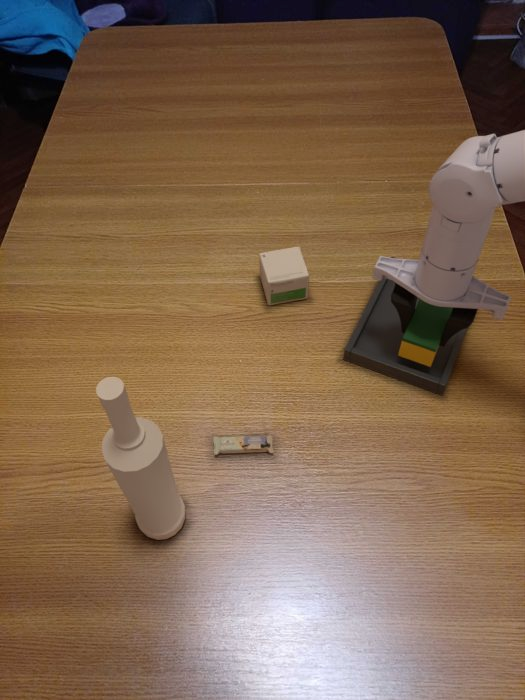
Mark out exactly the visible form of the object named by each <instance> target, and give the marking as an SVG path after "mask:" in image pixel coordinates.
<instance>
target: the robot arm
mask: <svg viewBox="0 0 525 700" xmlns="http://www.w3.org/2000/svg"><path fill="white" fill-rule="evenodd" d="M428 195H429V199H430V202H431V203H432V209H431V210H430V213H429V218H428V222H427V225H426V229H425V233H424V238H423V241H422V246H421V250H420V254H419V257H418V259H412V258H411V259H410V258H398V259H395V258H396V257H395V258H391V257H387V256H385V255H380V256H379V257H378V259H377V260H376V263H375V265H374V268H373V274H372V279H373V280H376V281H378V282H379V281H381V280H383V278H386V279H389V280H392V281H394V282H395V287H394V290H393V292H392V294H391V303H392V304H393V305H394V306H395V308H396V310H397V312H398V314H399V317H400V322H401V332H402V333H405V331H406V329H407V327H408V325H409V322H410V320H411V318H412V315H413V313H414V311H415V307H416V301H417V297H418V298H420V299H421V300H423V301H425V302H426V303H429V304H431V305H434V306H440V307H453V309H452V312H451V314H450V317H449V320H448V322H447V325H446V327H445V330H444V332H443V335H442V337H441V340H440V343H439V345H440V346H443V347H444V346H445V344H446V343H447V342H448V340H449V339H450V338H451V337H452V336H453V335H455V334H456V333H457V332H459V331H461V330H463V329H465V328H467V329H468V328H469V327H470V326H471V325H472V324H473V322H474V321H475V318H476V315H477V312H478V310H483V311H487V312H489V313H492V317H493V318H494V319H497V320H500V321H503V320H504V317H505V315H506V313H507V311H508V308H509V305H510V302H511V298H512V296H511V295H509V294H508V293H507V294H506V293H504V292H501V291H499V290H497V288H496V289H495V288H494V287H492V286H491V285H489V284H487V283H486V282H485V281H483V280H481V279H479V278H477V277H475V276H474V273H475V270H476V267H477V265H478V262H479V259H480V256H481V253H482V251H483V248H484V245H485V242H486V241H487V240H486V239H487V237H488V234H489V231H490V228H491V225H492V222H493V221H492V220H493V216H494V214H495V210H496V208H499V207H500V206H502V205H503V206H504V205H510V204H515V203H520V202H521V203H522V202H525V129H522V130H519V131H515V132H512V133H508V134H504V135H501V136H497V135H496V133H490V134H488V135H476V136H472V137H469V138H467V139H466V140H464V141H463V142H461V143H460V145H459V146H458V147H457V148H456V149H455V150H454V151H453V152H452V153H451V154H450V156H449V157H448V158H447V159H446V160H445V161H444V162H443V163H442V164H441V165H440V166H439V168H438V169H437V170H436V171H435V172H434V175H433V176H432V178H431V179H430V181H429V185H428Z"/></svg>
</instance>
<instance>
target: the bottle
mask: <svg viewBox="0 0 525 700" xmlns="http://www.w3.org/2000/svg"><path fill="white" fill-rule="evenodd" d="M95 393H96V395H97V398H98V400H99V402H100V405H101V408H102V409H103V410H104V411H105V414H106V416H107V418H108V421H109V423H110V425H111V427H110V428H109V429H108V430H107V432H106V433H105V436H104V437H103V439H102V442H101V453H102V457H103V458H104V461H105V463H106V465H107V467H108V468H109V470H110V472H111V474H112V476H113V477H114V479H115V482H116V483H117V485H118V486H119V489H120V490H121V492H122V494H123V495H124V497H125V500H126V501H127V503H128V504H129V507H130V508H131V510H132V512H133V513H134V519H135V522H136V524H137V526H138V528H139V530H140V531H141V532H142V533H143V534H144V535H145V536H146V537H148V538H151V539H154V540H157V541H158V540H159V541H160V540H168V539H169V538H172V537H173V536H176V535H177V534H178V532H179V531H180V530H181V529H182V528H183V525H184V523H185V520H186V505H185V503H184V501H183V499H182V496H181V495H180V494H179V490H178V486H177V483H176V479H175V475H174V472H173V468H172V464H171V461H170V456H169V454H168V449H167V446H166V443H165V439H164V436H163V433H162V431H161V428H160V427H159V425H157V424H156V423H155V422H153V420H151V419H148V418H144V417H142V416H137V417H136V416H135V412H134V410H133V408H132V405H131V402H130V398H129V395H128V392H127V390H126V387H125V384H124V381H123V380H122V379H120V378H119V377H116V376H107V377H105V378H102V379H101V380H100V381H99V382H98V383H97V385H96V388H95Z"/></svg>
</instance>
